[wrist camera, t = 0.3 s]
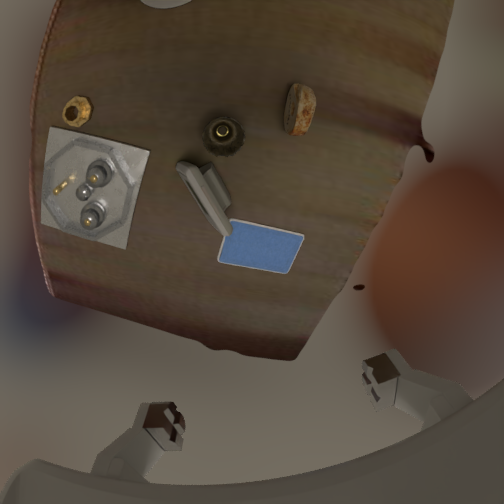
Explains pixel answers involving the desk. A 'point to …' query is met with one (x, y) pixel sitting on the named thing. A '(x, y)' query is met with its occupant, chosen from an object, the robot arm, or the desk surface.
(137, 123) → the desk surface
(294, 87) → the stone disc
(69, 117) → the flanged octagonal bushing
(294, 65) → the desk surface
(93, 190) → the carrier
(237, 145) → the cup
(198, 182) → the digital clock
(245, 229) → the tablet computer
